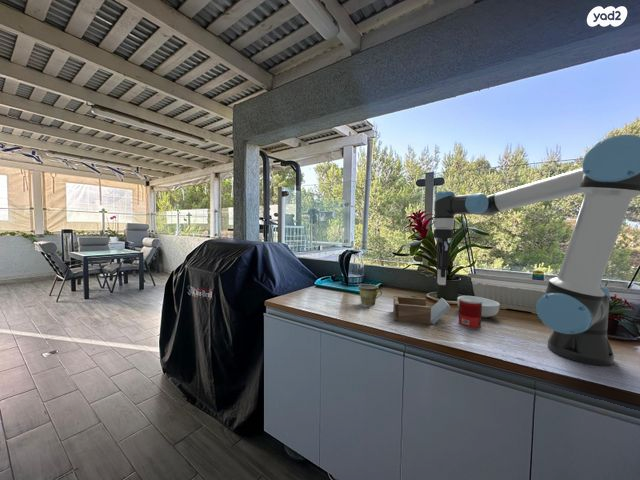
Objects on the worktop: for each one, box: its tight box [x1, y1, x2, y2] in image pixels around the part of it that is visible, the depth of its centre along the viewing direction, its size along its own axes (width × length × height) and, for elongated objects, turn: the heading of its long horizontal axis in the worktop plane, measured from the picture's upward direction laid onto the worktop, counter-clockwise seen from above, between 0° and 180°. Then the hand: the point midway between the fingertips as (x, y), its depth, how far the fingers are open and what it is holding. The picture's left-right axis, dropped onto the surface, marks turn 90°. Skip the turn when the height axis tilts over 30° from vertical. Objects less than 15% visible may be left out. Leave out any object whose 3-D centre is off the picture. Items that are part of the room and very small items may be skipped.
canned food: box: [458, 297, 482, 329], centre depth 107 cm, size 8×8×11 cm
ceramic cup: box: [358, 283, 383, 308], centre depth 132 cm, size 13×10×10 cm
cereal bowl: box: [456, 295, 501, 318], centre depth 120 cm, size 17×17×7 cm
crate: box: [392, 295, 434, 326], centre depth 113 cm, size 14×15×8 cm
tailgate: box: [431, 297, 452, 325], centre depth 111 cm, size 12×10×1 cm
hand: (441, 283), depth 110 cm, fingers closed
